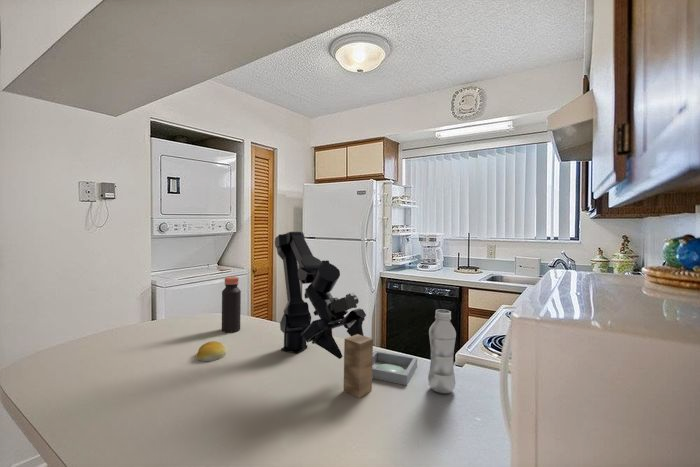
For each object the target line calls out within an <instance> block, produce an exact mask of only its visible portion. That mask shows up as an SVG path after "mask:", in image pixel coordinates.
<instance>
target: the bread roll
mask: <svg viewBox="0 0 700 467" xmlns="http://www.w3.org/2000/svg"><path fill="white" fill-rule="evenodd" d="M226 353H227V348H226V346H225V345H224V344H223V343H222V342H220V341H207V342H205V343H204V344H202V345H201V346H200V347H199V348H198V350H197V352H196V359H197V360H199V361H202V362H213V361H216V360H219V359H222V358H224V357H225V355H226Z"/></svg>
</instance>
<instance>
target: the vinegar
mask: <svg viewBox="0 0 700 467" xmlns="http://www.w3.org/2000/svg"><path fill="white" fill-rule="evenodd" d="M238 285H239V277H236V276H228V277H225V278H224V286H225V287H224V289H223V290H222V291H221V332H222V333H226V334H227V333H231V334H232V333H236V332H238V331H240V330H241V314H242V313H241V309H242V308H241V303H242V302H241V301H242V300H241V298H242V296H241V295H242V291H241V289H240V288H239V287H238Z"/></svg>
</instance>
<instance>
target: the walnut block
mask: <svg viewBox="0 0 700 467" xmlns="http://www.w3.org/2000/svg"><path fill="white" fill-rule="evenodd" d="M343 342H344V347H343V348H344V350H343V392H346V393H347V394H349V395H352V396H354V397H356V398H358V399H359V398H362V397H363V396H365V395H366V394H368V393H370V392H371V391H372V390H373V378H372V367H373V366H372V360H373V352H374V351H373V350H374V339H373V337H368V336H366V335H364V336H362V335H359V334H356V335H354V336H349V337H346V338H344V341H343Z"/></svg>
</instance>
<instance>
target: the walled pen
mask: <svg viewBox="0 0 700 467" xmlns="http://www.w3.org/2000/svg"><path fill="white" fill-rule="evenodd" d="M376 362H386V363H383V364H378V365H377V366H375V367H374V364H376ZM399 365H401V366H399ZM402 366H406V367H407V368H406V369H404V368H403V367H402ZM417 367H418V357H416V356H415V357H414V356H409V355H403V354H398V353H392V352H386V351H380V350H375V351H373V360H372V379H375V380H380V381H386V382H390V383H393V384H394V383H395V384H399V385H404V386H408V384H409V382H410V380H411V378H412V376H414V373H415V371H416V370H417Z"/></svg>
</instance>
